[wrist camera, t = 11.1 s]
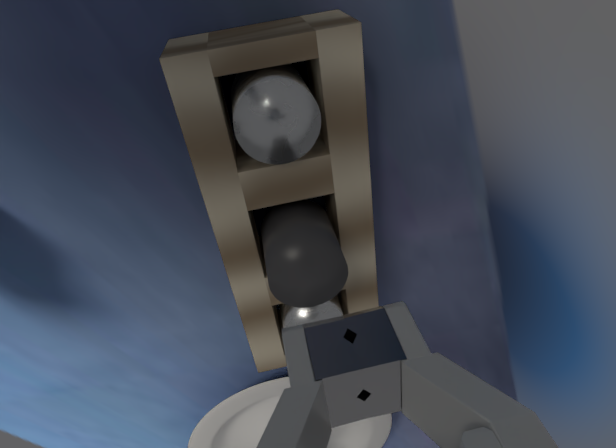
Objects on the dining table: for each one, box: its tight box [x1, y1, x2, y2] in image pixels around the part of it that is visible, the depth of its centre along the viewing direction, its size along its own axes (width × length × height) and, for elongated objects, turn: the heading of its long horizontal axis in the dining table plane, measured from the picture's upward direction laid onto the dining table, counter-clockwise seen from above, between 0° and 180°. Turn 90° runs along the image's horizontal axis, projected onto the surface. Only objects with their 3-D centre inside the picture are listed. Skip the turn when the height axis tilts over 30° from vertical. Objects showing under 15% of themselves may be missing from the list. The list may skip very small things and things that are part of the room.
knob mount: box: [159, 9, 379, 373], centre depth 30 cm, size 24×10×5 cm, turn 8°
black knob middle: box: [261, 199, 348, 308], centre depth 27 cm, size 5×5×5 cm
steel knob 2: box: [279, 295, 343, 329], centre depth 34 cm, size 5×5×5 cm
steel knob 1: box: [231, 64, 321, 165], centre depth 25 cm, size 5×5×5 cm
